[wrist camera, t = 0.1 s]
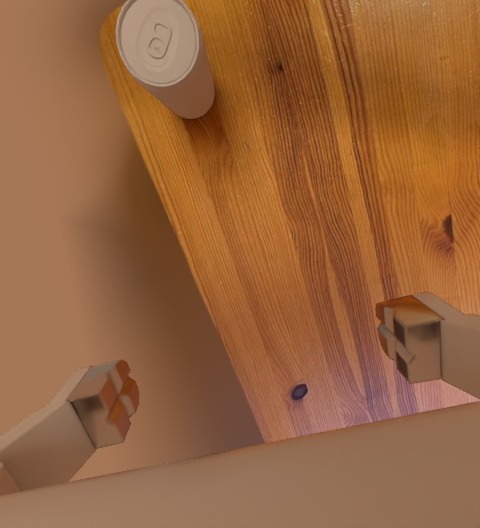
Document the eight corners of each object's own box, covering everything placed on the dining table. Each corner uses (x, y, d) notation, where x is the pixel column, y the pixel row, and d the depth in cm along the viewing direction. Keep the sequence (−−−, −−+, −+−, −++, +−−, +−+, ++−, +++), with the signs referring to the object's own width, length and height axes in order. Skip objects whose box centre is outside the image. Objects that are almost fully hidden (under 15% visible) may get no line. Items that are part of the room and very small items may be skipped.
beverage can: (156, 105, 28) (101, 64, 16) (174, 50, 26) (128, -36, 15) (204, 128, 28) (183, 105, 17) (224, 76, 27) (215, 13, 16)
